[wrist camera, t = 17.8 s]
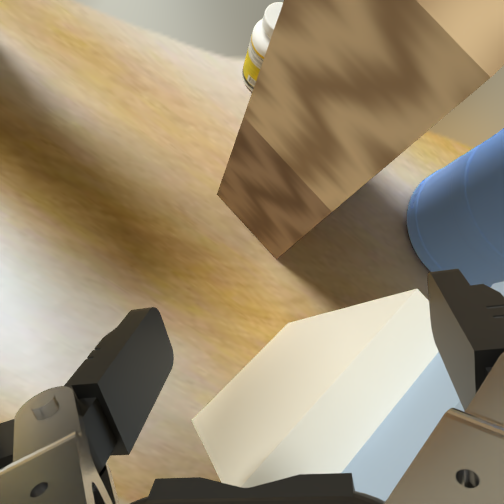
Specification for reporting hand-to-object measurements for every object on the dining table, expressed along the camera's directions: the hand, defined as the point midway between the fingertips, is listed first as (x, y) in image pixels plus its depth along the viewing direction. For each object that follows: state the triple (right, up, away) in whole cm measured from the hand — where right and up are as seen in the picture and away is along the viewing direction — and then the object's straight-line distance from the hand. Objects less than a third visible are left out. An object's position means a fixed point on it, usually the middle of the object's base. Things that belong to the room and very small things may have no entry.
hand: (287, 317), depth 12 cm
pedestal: (+1, -14, +31) cm, 34 cm away
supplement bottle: (0, +24, +40) cm, 47 cm away
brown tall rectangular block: (+4, +10, +37) cm, 39 cm away
